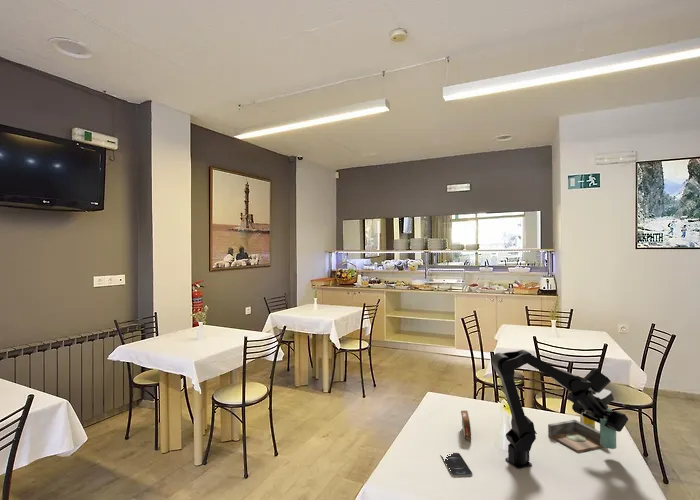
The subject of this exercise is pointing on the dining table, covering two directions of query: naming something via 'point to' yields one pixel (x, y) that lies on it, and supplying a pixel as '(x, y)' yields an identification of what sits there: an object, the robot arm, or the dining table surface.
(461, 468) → the smartphone
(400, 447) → the dining table surface
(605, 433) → the teal bottle
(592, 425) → the supplement bottle
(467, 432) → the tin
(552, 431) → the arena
